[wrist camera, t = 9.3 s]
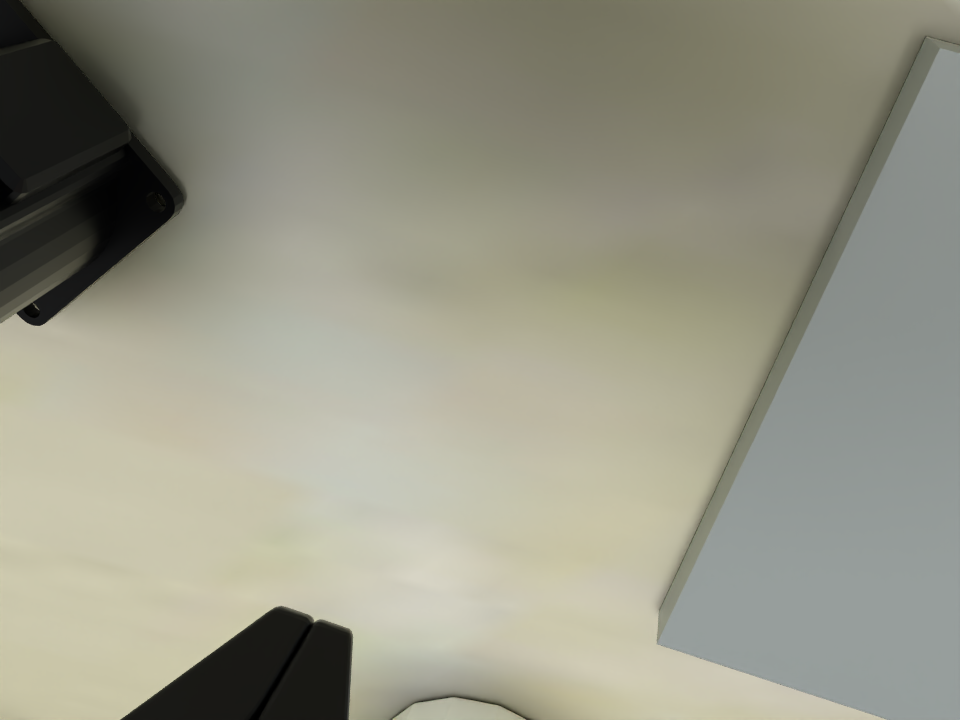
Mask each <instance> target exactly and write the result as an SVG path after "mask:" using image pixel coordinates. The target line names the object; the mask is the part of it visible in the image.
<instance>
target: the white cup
mask: <svg viewBox="0 0 960 720" xmlns="http://www.w3.org/2000/svg"><path fill="white" fill-rule="evenodd" d="M392 720H526V719H524V718H522V717H521V716H519V715H517V714H515V713H513V712H511V711H509V710H507V709H505V708H503V707H501V706H498V705H494V704H488V703H483V702H478V701H473V700H467V699H462V698H456V697H452V698H445V699H438V700H432V701H426V702H419V703H414V704H413V705H411V706H410V707H408V708H407V709H406V710H404V711H403V712H402V713H400V714H399V715H397V716H396V717H395V718H393V719H392Z"/></svg>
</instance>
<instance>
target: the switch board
mask: <svg viewBox="0 0 960 720" xmlns="http://www.w3.org/2000/svg"><path fill="white" fill-rule="evenodd" d="M657 644H658V645H661V646H664V647H667V648H670V649H673V650H676V651H679V652H683V653H686V654H689V655H692V656H695V657H698V658H701V659H704V660H707V661H710V662H713V663H716V664H719V665H722V666H725V667H728V668H731V669H734V670H738V671H741V672H744V673H747V674H750V675H753V676H756V677H759V678H762V679H765V680H768V681H771V682H774V683H777V684H780V685H783V686H786V687H789V688H793V689H796V690H799V691H802V692H805V693H808V694H811V695H814V696H817V697H820V698H823V699H826V700H829V701H832V702H835V703H838V704H841V705H844V706H848V707H851V708H854V709H857V710H860V711H863V712H866V713H869V714H872V715H875V716H878V717H881V718H884V719H887V720H960V45H957V44H953V43H949V42H946V41H942V40H938V39H934V38H931V37H927V36H926V38H925V40H924V42H923V44H922V46H921V49H920V51H919V53H918V55H917V57H916V59H915V61H914V64H913V66H912V68H911V70H910V72H909V74H908V77H907V79H906V81H905V83H904V85H903V87H902V89H901V92H900V94H899V96H898V98H897V100H896V102H895V105H894V107H893V109H892V111H891V113H890V115H889V117H888V120H887V122H886V124H885V126H884V128H883V130H882V133H881V135H880V137H879V139H878V141H877V143H876V145H875V148H874V150H873V152H872V154H871V156H870V158H869V161H868V163H867V165H866V167H865V169H864V171H863V173H862V176H861V178H860V180H859V182H858V184H857V186H856V189H855V191H854V193H853V195H852V197H851V199H850V201H849V204H848V206H847V208H846V210H845V212H844V214H843V217H842V219H841V221H840V223H839V225H838V227H837V229H836V232H835V234H834V236H833V238H832V240H831V242H830V245H829V247H828V249H827V251H826V253H825V255H824V258H823V260H822V262H821V264H820V266H819V268H818V270H817V273H816V275H815V277H814V279H813V281H812V283H811V286H810V288H809V290H808V292H807V294H806V296H805V298H804V301H803V303H802V305H801V307H800V309H799V311H798V314H797V316H796V318H795V320H794V322H793V324H792V326H791V329H790V331H789V333H788V335H787V337H786V339H785V342H784V344H783V346H782V348H781V350H780V352H779V354H778V357H777V359H776V361H775V363H774V365H773V367H772V370H771V372H770V374H769V376H768V378H767V380H766V382H765V385H764V387H763V389H762V391H761V393H760V395H759V398H758V400H757V402H756V404H755V406H754V408H753V410H752V413H751V415H750V417H749V419H748V421H747V423H746V426H745V428H744V430H743V432H742V434H741V436H740V438H739V441H738V443H737V445H736V447H735V449H734V451H733V454H732V456H731V458H730V460H729V462H728V464H727V466H726V469H725V471H724V473H723V475H722V477H721V479H720V482H719V484H718V486H717V488H716V490H715V492H714V495H713V497H712V499H711V501H710V503H709V505H708V507H707V510H706V512H705V514H704V516H703V518H702V520H701V523H700V525H699V527H698V529H697V531H696V533H695V535H694V538H693V540H692V542H691V544H690V546H689V548H688V551H687V553H686V555H685V557H684V559H683V561H682V563H681V566H680V568H679V570H678V572H677V574H676V576H675V579H674V581H673V583H672V585H671V587H670V589H669V591H668V594H667V596H666V598H665V600H664V602H663V604H662V607H661V609H660V611H659V618H658V634H657Z"/></svg>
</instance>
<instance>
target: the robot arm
mask: <svg viewBox="0 0 960 720" xmlns="http://www.w3.org/2000/svg"><path fill="white" fill-rule="evenodd" d="M155 193H159V194H160V195H161V196H162V197H163V198H164V200H165V203H166V207H165V206H162V205H161V204H159V203H158V202H157V200H156V198H155ZM182 207H183V197H182V193H181V191H180V190H179V188H178V187H177V185H176V184H175V183H174V182H173V181H172V179H171V178H170V177H169V176H168V175H167V174H166V172H165V171H164V170H163V169H162V168H161V166H160V165H159V164H158V163H157V162H156V161H155V159H154V158H153V157H152V156H151V155H150V154H149V152H148V151H147V150H146V149H145V148H144V146H143V145H142V144H141V143H140V142H139V141H138V139H137V138H136V137H135V136H134V135H133V134H132V132H131V131H130V130H129V127H128V126H127V124H126V123H125V122H124V121H123V120H122V118H121V117H120V116H119V115H118V114H117V113H116V111H115V110H114V109H113V108H112V107H111V106H110V104H109V103H108V102H107V101H106V100H105V98H104V97H103V96H102V95H101V94H100V93H99V91H98V90H97V89H96V88H95V87H94V86H93V84H92V83H91V82H90V81H89V80H88V78H87V77H86V76H85V75H84V74H83V73H82V71H81V70H80V69H79V68H78V67H77V66H76V64H75V63H74V62H73V61H72V60H71V58H70V57H69V56H68V55H67V54H66V53H65V51H64V50H63V49H62V48H61V47H60V46H59V44H58V43H57V42H55V41H53V40H52V38H51V37H50V36H49V35H48V34H47V33H46V31H45V30H44V29H43V28H42V27H41V25H40V24H39V23H38V22H37V21H36V20H35V18H34V17H33V16H32V15H31V14H30V13H29V11H28V10H27V9H26V8H25V7H24V6H23V4H22V3H21V2H20V1H19V0H0V323H2V322H3V321H5V320H6V319H8V318H9V317H11V316H12V315H14V314H15V313H17V314H18V315H19V316H20V317H21V318H22V319H23V320H24V321H25V322H27V323H29V324H31V325H34V326H40V325H43V324H45V323H46V322H48V321H49V320H50V319H52V318H53V317H55V316H56V315H57V314H58V313H59V312H61V311H62V310H63V309H64V308H65V307H67V306H68V305H69V304H70V303H71V302H73V301H74V300H75V299H76V298H77V297H79V296H80V295H81V294H82V293H83V292H85V291H86V290H87V289H88V288H89V287H91V286H92V285H93V284H94V283H95V282H97V281H98V280H99V279H100V278H101V277H103V276H104V275H105V274H106V273H107V272H109V271H110V270H111V269H112V268H113V267H115V266H116V265H117V264H118V263H119V262H121V261H122V260H123V259H124V258H125V257H127V256H128V255H129V254H130V253H131V252H133V251H134V250H135V249H136V248H137V247H139V246H140V245H141V244H142V243H143V242H145V241H146V240H147V239H148V238H149V237H151V236H152V235H153V234H154V233H155V232H157V231H158V230H159V229H160V228H161V227H163V226H164V225H165V224H166V223H167V222H169V221H170V220H171V219H172V218H173V217H175V216H176V215H177V214H178V213H179V212H180V210H181V209H182ZM32 302H33V303H35V304H36V305H37V306H38V308H39V310H38V309H37V308H35V306H34V305H33V303H32ZM352 646H353V634H352V631H351V630H350V629H348V628H345V627H343V626H340V625H337V624H334V623H331V622H328V621H325V620H317V621H316V622H314V619H313V618H312V617H311V616H310V615H308V614H305V613H302V612H299V611H296V610H293V609H290V608H287V607H284V606H279V607H275V608H273V609H272V610H270V611H269V612H267V613H266V614H265V615H263V616H262V617H260V618H259V619H258V620H256V621H255V622H254V623H252V624H251V625H250V626H248V627H247V628H245V629H244V630H243V631H241V632H240V633H239V634H237V635H236V636H234V637H233V638H232V639H230V640H229V641H228V642H226V643H225V644H223V645H222V646H221V647H219V648H218V649H217V650H215V651H214V652H213V653H211V654H210V655H208V656H207V657H206V658H204V659H203V660H202V661H200V662H199V663H197V664H196V665H195V666H193V667H192V668H191V669H189V670H188V671H186V672H185V673H184V674H182V675H181V676H180V677H178V678H177V679H176V680H174V681H173V682H171V683H170V684H169V685H167V686H166V687H165V688H163V689H162V690H160V691H159V692H158V693H156V694H155V695H154V696H152V697H151V698H149V699H148V700H147V701H145V702H144V703H143V704H141V705H140V706H139V707H137V708H136V709H134V710H133V711H132V712H130V713H129V714H128V715H126V716H125V717H123V718H122V719H121V720H349V702H350V684H351V665H352Z"/></svg>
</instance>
